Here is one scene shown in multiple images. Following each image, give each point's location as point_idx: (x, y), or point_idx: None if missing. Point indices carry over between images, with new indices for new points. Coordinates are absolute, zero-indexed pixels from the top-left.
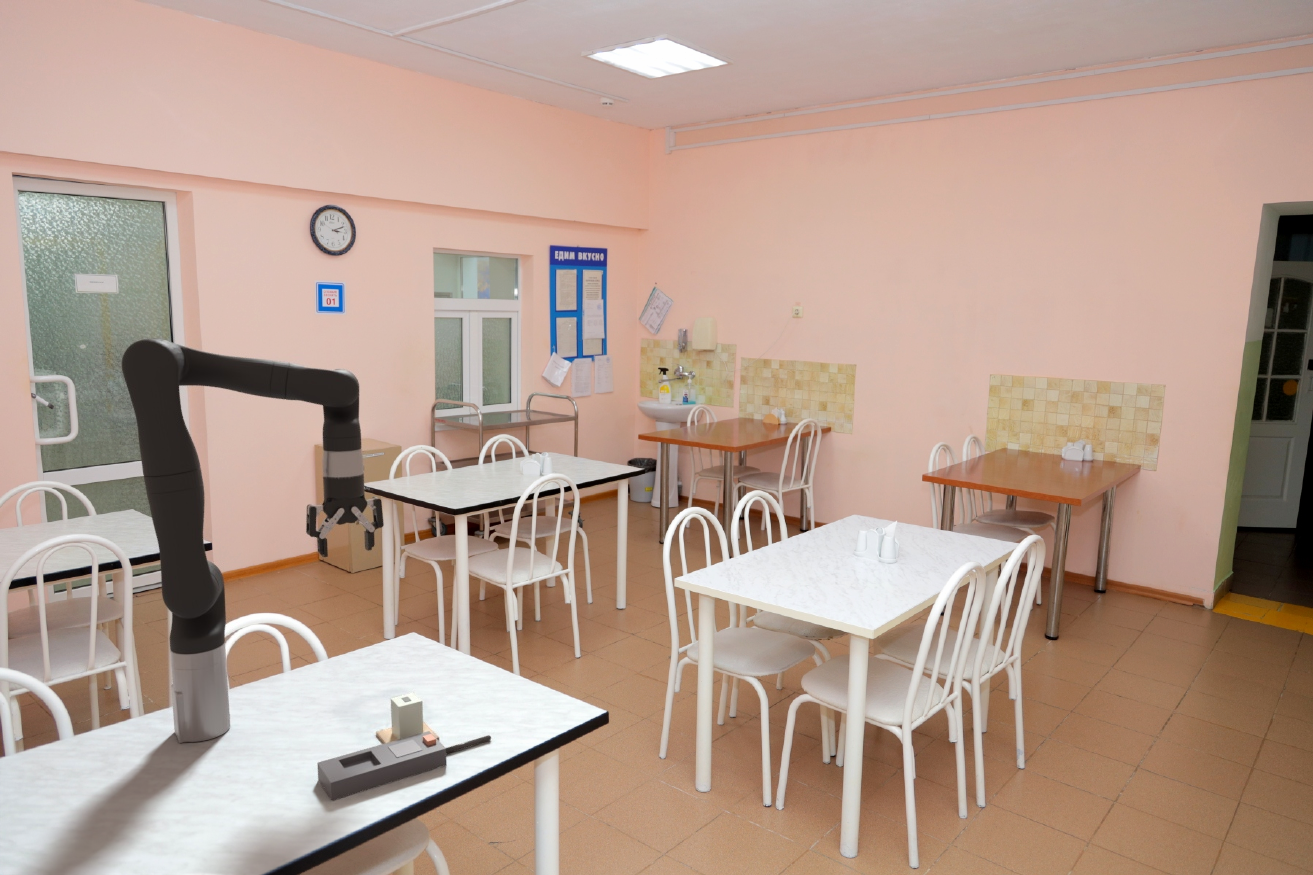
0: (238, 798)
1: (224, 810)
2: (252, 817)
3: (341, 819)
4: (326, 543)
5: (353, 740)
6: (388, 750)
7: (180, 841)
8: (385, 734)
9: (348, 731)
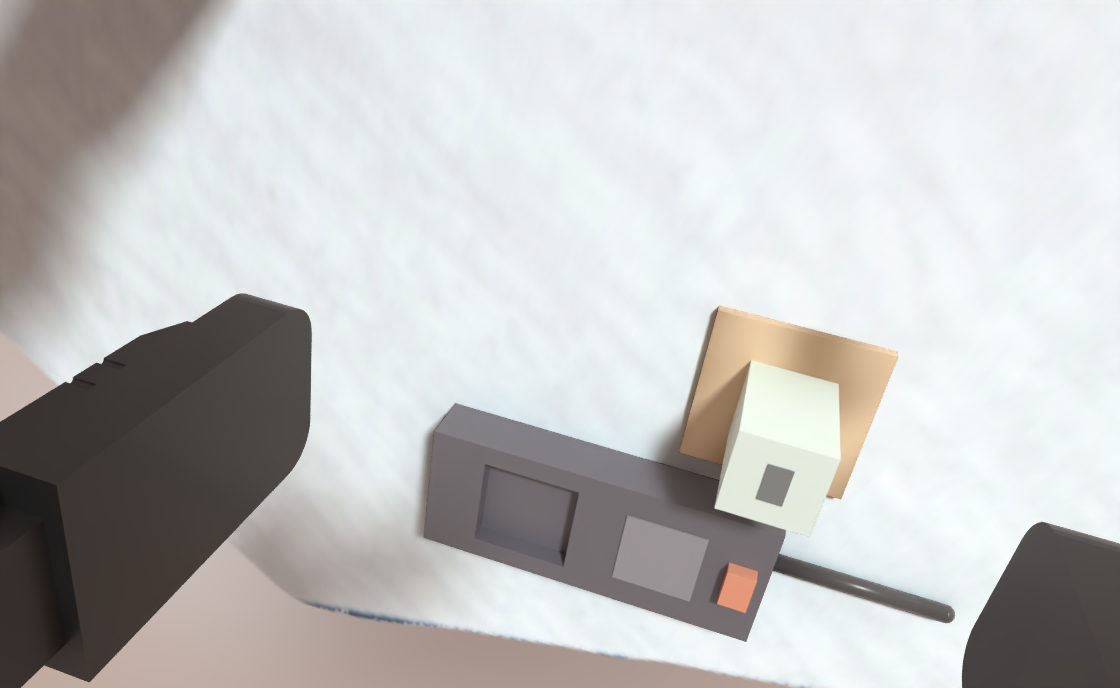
0: None
1: None
2: None
3: (432, 576)
4: (145, 605)
5: (641, 280)
6: (618, 529)
7: None
8: (729, 350)
9: (664, 206)
